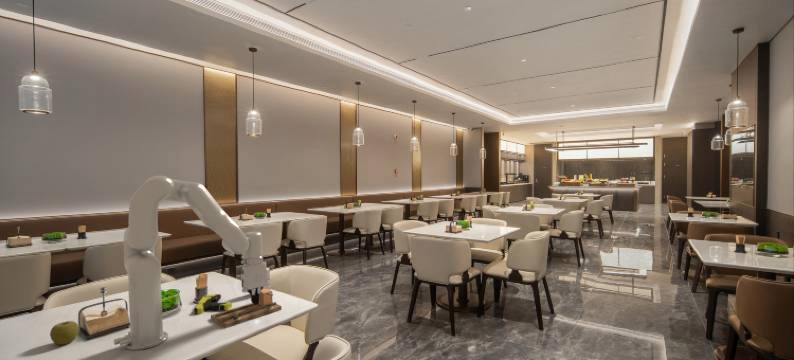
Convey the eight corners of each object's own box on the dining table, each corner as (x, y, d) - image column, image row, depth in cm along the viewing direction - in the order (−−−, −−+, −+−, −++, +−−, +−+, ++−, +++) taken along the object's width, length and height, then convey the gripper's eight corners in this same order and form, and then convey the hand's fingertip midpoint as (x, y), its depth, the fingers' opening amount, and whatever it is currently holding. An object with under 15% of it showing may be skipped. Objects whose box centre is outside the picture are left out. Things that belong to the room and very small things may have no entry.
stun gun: (237, 291, 176) (203, 294, 173) (229, 305, 158) (191, 309, 154) (237, 297, 176) (203, 300, 173) (229, 311, 158) (191, 316, 154)
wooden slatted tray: (225, 328, 140) (224, 318, 140) (210, 318, 150) (210, 309, 150) (281, 309, 157) (281, 301, 157) (265, 302, 167) (265, 294, 167)
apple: (79, 335, 137) (78, 317, 136) (79, 343, 131) (78, 323, 130) (51, 342, 132) (50, 323, 131) (50, 350, 126) (49, 330, 125)
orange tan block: (268, 309, 154) (267, 295, 154) (258, 304, 160) (258, 290, 160) (277, 306, 157) (276, 292, 157) (267, 301, 163) (266, 288, 163)
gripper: (240, 265, 148) (242, 310, 148) (274, 258, 159) (275, 300, 159) (232, 263, 153) (234, 306, 153) (265, 256, 164) (267, 296, 164)
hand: (255, 302), depth 156 cm, fingers closed
